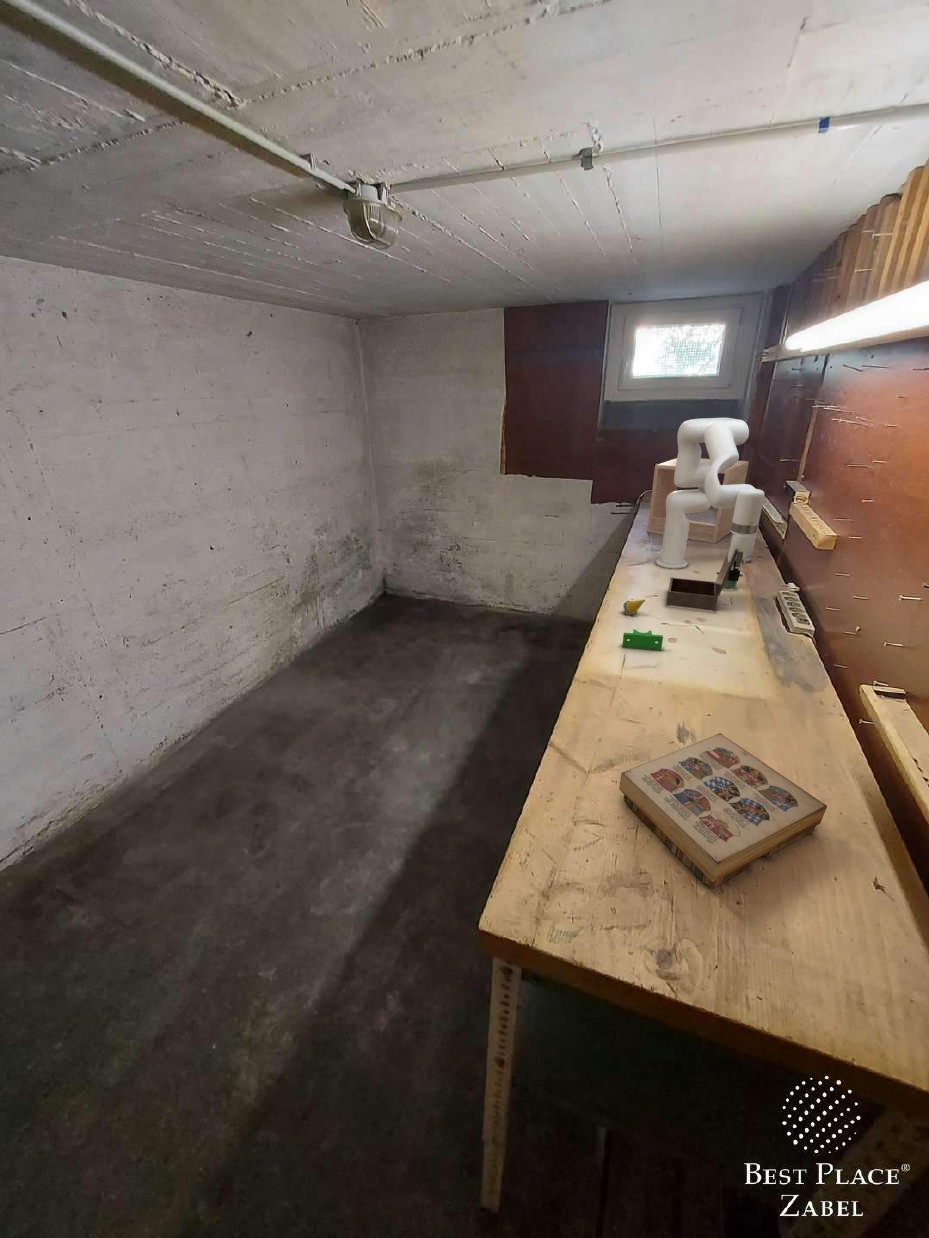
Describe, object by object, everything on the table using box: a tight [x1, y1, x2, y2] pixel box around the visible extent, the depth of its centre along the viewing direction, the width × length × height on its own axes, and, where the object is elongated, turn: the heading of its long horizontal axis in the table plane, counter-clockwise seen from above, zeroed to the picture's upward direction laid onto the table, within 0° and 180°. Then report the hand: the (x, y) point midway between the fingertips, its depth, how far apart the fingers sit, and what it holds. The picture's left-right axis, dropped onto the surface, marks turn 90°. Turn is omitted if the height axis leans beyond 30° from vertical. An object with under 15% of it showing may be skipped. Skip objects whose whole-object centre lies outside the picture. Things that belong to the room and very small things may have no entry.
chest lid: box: [715, 549, 738, 597], centre depth 164 cm, size 16×15×5 cm
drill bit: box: [623, 599, 646, 617], centre depth 165 cm, size 5×5×10 cm
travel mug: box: [745, 514, 762, 564], centre depth 206 cm, size 6×7×20 cm
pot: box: [716, 571, 744, 590], centre depth 183 cm, size 9×7×7 cm
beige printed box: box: [618, 732, 828, 889], centre depth 90 cm, size 25×6×28 cm
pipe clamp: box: [621, 628, 664, 651], centre depth 146 cm, size 11×4×5 cm, turn 76°
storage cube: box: [646, 457, 750, 544], centre depth 246 cm, size 34×29×34 cm
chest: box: [665, 577, 719, 612], centre depth 173 cm, size 16×15×6 cm
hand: (732, 580), depth 166 cm, fingers closed
